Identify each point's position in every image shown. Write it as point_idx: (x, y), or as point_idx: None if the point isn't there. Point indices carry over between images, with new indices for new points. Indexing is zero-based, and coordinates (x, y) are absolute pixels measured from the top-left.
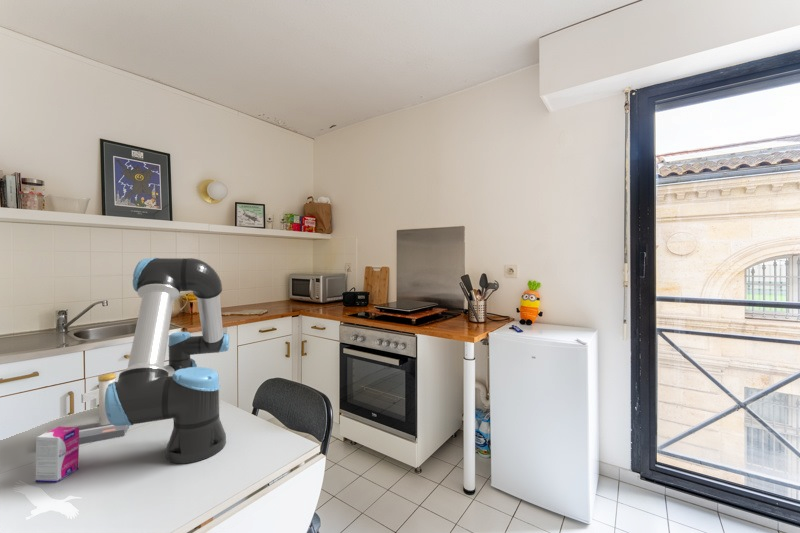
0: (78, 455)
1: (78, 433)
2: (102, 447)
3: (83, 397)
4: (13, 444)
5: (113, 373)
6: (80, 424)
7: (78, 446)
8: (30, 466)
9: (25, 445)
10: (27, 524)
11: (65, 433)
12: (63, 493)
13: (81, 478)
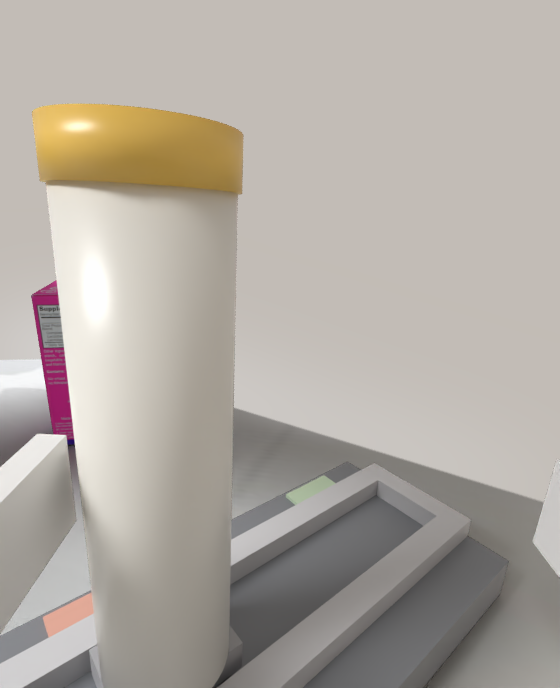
0: (48, 400)
1: (35, 317)
2: (56, 552)
3: (548, 492)
4: (540, 512)
5: (99, 107)
6: (380, 597)
7: (43, 367)
8: (248, 441)
9: (476, 514)
10: (34, 360)
11: (51, 284)
12: (21, 396)
13: (8, 425)
